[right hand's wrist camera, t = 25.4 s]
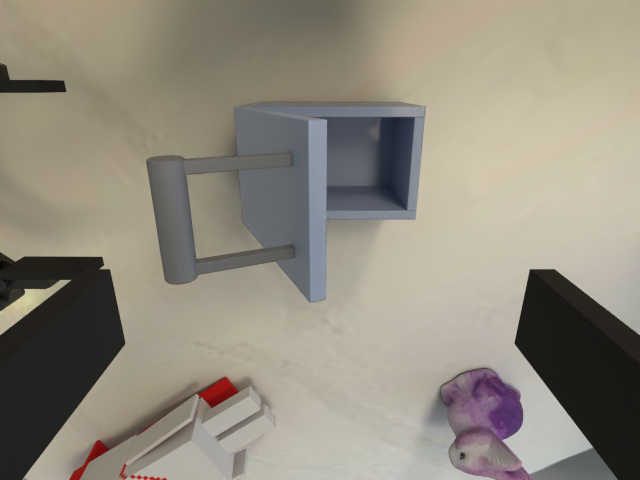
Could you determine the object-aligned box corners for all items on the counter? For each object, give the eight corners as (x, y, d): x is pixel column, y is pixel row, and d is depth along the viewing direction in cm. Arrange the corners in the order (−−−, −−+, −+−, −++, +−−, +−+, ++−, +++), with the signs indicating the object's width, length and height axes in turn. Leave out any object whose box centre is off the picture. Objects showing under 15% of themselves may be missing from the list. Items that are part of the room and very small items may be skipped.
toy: (287, 468, 51) (94, 579, 52) (284, 398, 64) (128, 490, 65) (232, 403, 47) (26, 525, 49) (240, 343, 60) (77, 441, 61)
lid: (327, 119, 20) (141, 125, 16) (326, 299, 23) (173, 333, 20) (246, 106, 34) (136, 108, 30) (253, 220, 37) (155, 233, 34)
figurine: (423, 401, 59) (456, 499, 45) (469, 354, 56) (519, 443, 42) (472, 428, 61) (517, 530, 47) (518, 383, 58) (582, 478, 44)
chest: (401, 102, 44) (425, 106, 34) (394, 191, 48) (415, 219, 38) (259, 101, 44) (241, 106, 34) (263, 191, 48) (248, 219, 37)
